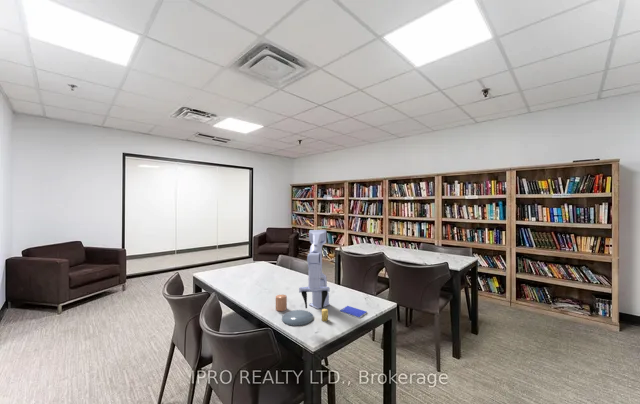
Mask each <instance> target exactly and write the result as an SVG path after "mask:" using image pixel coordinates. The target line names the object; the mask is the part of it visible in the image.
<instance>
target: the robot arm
mask: <svg viewBox="0 0 640 404" xmlns="http://www.w3.org/2000/svg"><path fill="white" fill-rule="evenodd" d="M308 240H309V243H310V244H311V245H310V248H309V252H308V253H307V258H306V261H307V269H308V282H307V283H308V286H304V287H303V286H302V287H300V286H299V287H298V293H301V296H302V298H303V301H304V305H305V306H304V307H305V309H308V305H309V306H311V307H312V308H315V309H317V310H319V309H321V308H322V309H324V307H327V306H330V305H331V304H330V301H329V300H330V299H329V298H330V291H331V290H330V289H331V288H330V286H328V283H327V282H328V280H327V275H326V274H324V272H323V246H324V245H325V244H326V243H327V230H326V229H310V230H309V231H308ZM308 293H311V296H312V297H311V298H312V301H311V303H309V304H308V302H307V301H308Z"/></svg>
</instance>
